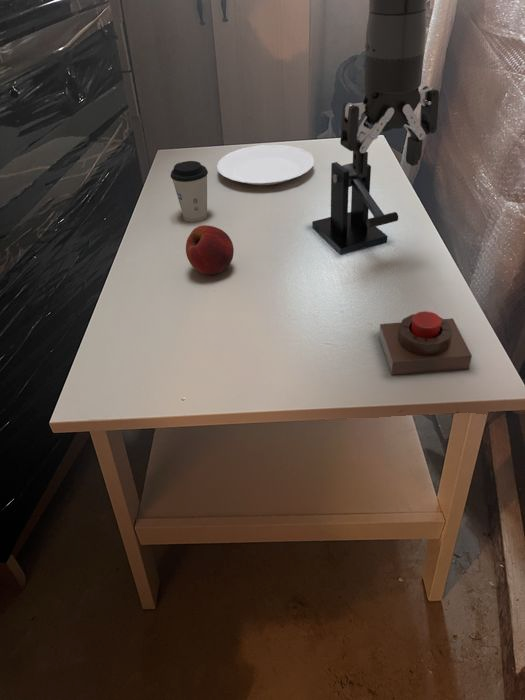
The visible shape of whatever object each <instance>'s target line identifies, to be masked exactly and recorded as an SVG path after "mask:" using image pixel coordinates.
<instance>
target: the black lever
mask: <svg viewBox="0 0 525 700" xmlns="http://www.w3.org/2000/svg"><path fill="white" fill-rule="evenodd" d="M341 166H343V167H344V168H345V169H347V170H348V171H349V188H352V186H353V187H354V188H355V190H356V191H357V193H358V194H359V196H360V197H361V198H362V200H363V201H364V203H365V204H366V206H367V207H368V209H369V212H370V213H371V215H372V216H373V217H370V218H369V217H368V219H367V220H366V225H367V227H368V228H372V227H379V226H383V225H387V224H391V223H395V222H398V221H399V214H398V212H396V211H394V212H390V213H386V214H385V213H384V212H383V211H382V210H381V208H380V206H379V205H378V204H377V202H376V201H375V199H374V198H373V196H372V195H371V193H370V194H369V192H368V191H367V190H366V188H365V187H364V185H363V184H362V183H361V181H360V178H361V177H360V176H358V175H357V174H356V172H354V171H353V162H351V163H347V164H343V165H341Z"/></svg>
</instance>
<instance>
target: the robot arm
mask: <svg viewBox="0 0 525 700" xmlns="http://www.w3.org/2000/svg"><path fill="white" fill-rule="evenodd" d="M427 5H428V0H369V5H368V6H369V7H368V10H369V11H368V19H367V24H366V30H365V31H366V33H365V45H364V47H365V49H364V50H365V54H364V57H365V58H364V59H365V60H364V79H363V80H364V81H363V86H364V93H365V94H364V98H363V99H362V102H357V103H356V102H355V103H352V102H350V101H345V102H343V105H342V111H341V125H340V141H339V143H340V146H342V147H343V148H344V149H346V150H348V151H350V152H352V163H353V171H354V172H356V174H357V175H358V176H360V177H361V178H362V177H366V176H367V164H369V162H368V161H369V160H368V159H369V152H368V150H369V148H370V146H371V144H372V143H373V142H374V141H375V140H377V139H378V137H379V136H380V134H381V133H382V132H383V133H384V132H389V131H391V130H393V129H397V130H399V129H403V128H405V129H406V131H407V132H408V134H409V135H410V136H408V137H407V142H406V153H405V162H406V163H407V164H408V165H410V166H412V167H414V166H417V165H419V161H420V160H421V158H422V153H423V151H422V150H423V142H424V139H425V138H426V136H427V135H430V134H434V133H435V132H437V129H438V117H439V115H438V114H439V101H440V91H439V90H438V89H436V88H433V87H431V86H428V85H425V86H423V87H422V88H421V89H419V88H420V87H421V85H422V81H423V80H422V78H423V69H424V68H423V67H424V60H425V59H424V58H425V49H426V48H425V47H426V37H427ZM418 105H420V118H419V119H418V117H417V115H416V114H415V110H416V109H417V107H418ZM363 113H364V115H365V116H364V118H363V120H362V121H361V119H362V115H363ZM359 121H361V122H360V125H359ZM371 126H372V128H370V127H371Z"/></svg>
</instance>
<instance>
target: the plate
mask: <svg viewBox="0 0 525 700" xmlns="http://www.w3.org/2000/svg"><path fill="white" fill-rule="evenodd" d="M314 164H315V157H313V155H312V154H311V153H310V152H308V151H307V150H305V149H302V148H301V147H300V148H299V147H297V146H292V145H286V144H257V145H252V146H247V147H243V148H240V149H237V150H234V151H231V152H229V153H227V154H226V155H224V156H223V157H221V158H220V159H219V161H218V162H217V165H216V169H217V171H218V173H219V174H220V175H221V176H223V178H226V179H229V180H231V181H234V182H239V183H242V184H247V185H250V186H273V185H277V184H282V183H286V182H288V181H291V180H293V179H295V178H299V177H300V176H302V175H304V174H306V173H308V172H309V171H310V170H311V169H312V168H313V167H314Z"/></svg>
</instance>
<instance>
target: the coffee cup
mask: <svg viewBox="0 0 525 700" xmlns="http://www.w3.org/2000/svg"><path fill="white" fill-rule="evenodd" d="M208 174H209V171H208V169H207V167H206V166H205V165H203V164H202V163H201V162H199V161H197V160H187V161H181V162H177V163H176V164H174V166H173V169H172V170H171V172H170V179H172V183H173V185H174V190H175V192H176V193H175V194H176V196H177V199H178V203H179V207H180V210H181V213H182V216H183V217H182V218H183V220H185V221H186V222H189V223H191V222H192V223H196V222H200V221H203V220H205V219H206V218H207V217H208Z"/></svg>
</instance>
